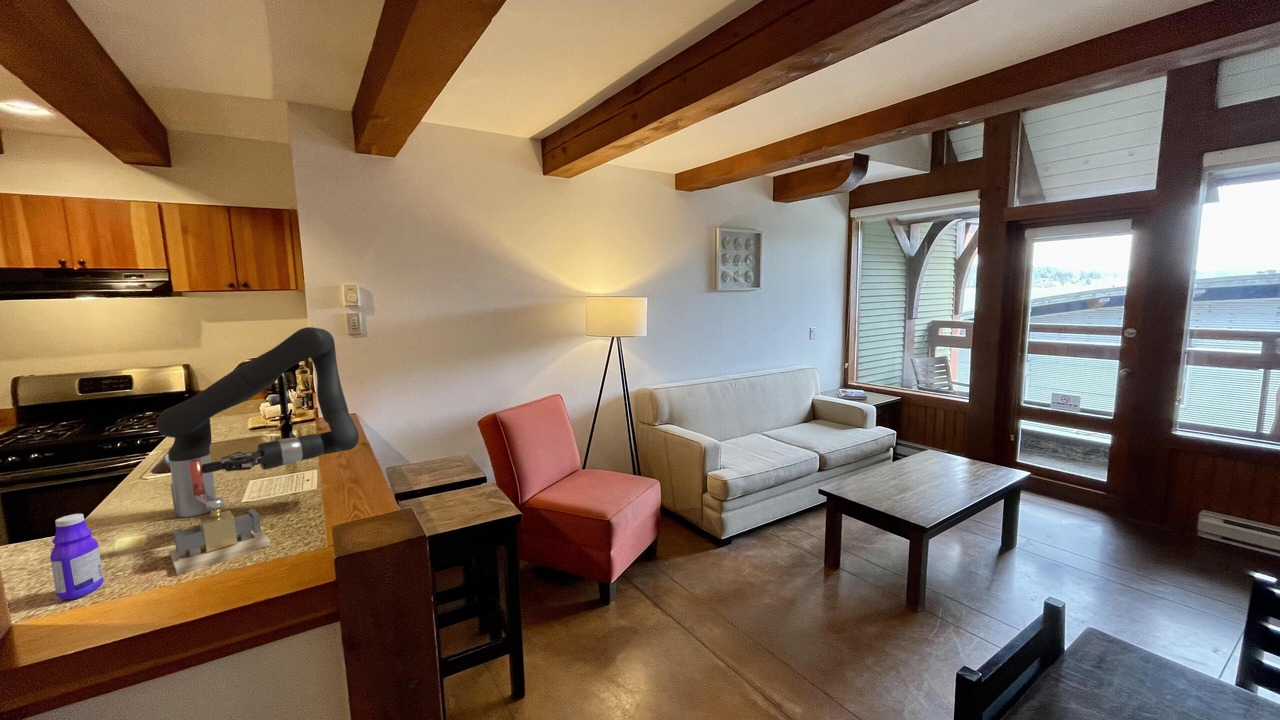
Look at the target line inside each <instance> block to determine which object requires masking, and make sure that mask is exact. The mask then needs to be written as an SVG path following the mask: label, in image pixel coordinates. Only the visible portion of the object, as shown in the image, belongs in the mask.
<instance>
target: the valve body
mask: <svg viewBox="0 0 1280 720" xmlns="http://www.w3.org/2000/svg"><path fill="white" fill-rule="evenodd" d="M210 512H211V513H210V514H211V515H207V516H202V517H199V518H198V520H199V526H198V527H194V528H191V529H187V530H183V531H182V530H181V528H176V529H173V530H172V531H173V538H174V544H175V548H176V551H177V553H178V555H179V556H181V555H184V554H185V550H188V553H189V555H190V557H193V556H196V555H199V554H201V550H200V546H202V545H203V546H204V548H205V550H206V552H209V551H213V550H216V549H219V548H223V547H226V546H229V545H233V544H236V543H237V536H236V535H238V537H239V538H240V540H241V541H246V540H249V539H251V531H254V533H259V532H261V530H262V529H261V524H260V516H259V515H260V514H259V513H258V511H256V509H255V508H251V509H248V513H245V514H241V515H238V516H234V515H233V513H232V512H231V510H226V511H221V507H220V508H217V509H212V510H211V511H210ZM260 529H261V530H260Z"/></svg>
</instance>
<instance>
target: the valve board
mask: <svg viewBox="0 0 1280 720" xmlns="http://www.w3.org/2000/svg"><path fill="white" fill-rule="evenodd" d="M260 530H261V532H259V533H254V531H251V539H249V540H246V541H241V540H240V538H239V537H238V535H236V536H237V543H236V544H233V545H229V546H226V547H223V548H219V549H216V550H213V551H209V552H206V550H205V548H204V546H203V545H202V546H200V550H201V554H199V555H196V556H193V557H190V555H189V553H188V550H185V554H184V555H181V556H179V555H178V553H177V551H176V547H175V548H173V549H169V550H168V552H169V558H170V560H171V562H172V565H173V568H174V571H175V574H176V576H179V575H184V574H186V573H190V572H193V571H197V570H199V569H203V568H205V567H208V566H212V565H215V564H218V563H221V562H224V561H227V560H230V559H234V558H237V557H241V556H244V555H247V554H250V553H253V552H256V551H258V550H257V549H259V550H261V549H260V548H262V549H264V548H263V547H266V548H268V547H267V546H269V547H271V546H272V543H271V539H270V538H269V537H268V536H267V534H266V533H265V532H264V531H263V529H261V528H260ZM255 550H256V551H255ZM252 551H253V552H252ZM249 552H250V553H249ZM246 553H247V554H246Z"/></svg>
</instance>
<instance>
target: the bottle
mask: <svg viewBox="0 0 1280 720" xmlns="http://www.w3.org/2000/svg"><path fill="white" fill-rule="evenodd" d="M84 516H85V515H84V513H73V514H69V515H64V516H61V517H59V518H57V519H55V522H54V523H55V535H54V537H53V539H52V543H53V545H54V546H53V547H52V551H51V552H50V556H49V559H50V560H49V561H50V565H51V570H52V578H53V582H54V588H55V595H56V597H57V598H58V599H59V600H61V599H69V600H74V599H73V598H76V599H79V598H81V597H80V596H82V597H84V596H86V595H88V594H90V593H92V592H93V591H96V590H98V589H99V588H100V587H101V586H102V585H103V583H104V576H103V575H104V573H103V567H102V561H101V555H100V550H99V549H100V548H99V543H98V541H97V540H96V538H94V537H93V536H92V534H93V530H92V529H90V528H89V527H88V526H87V524H86V519H85V517H84ZM78 597H79V598H78Z"/></svg>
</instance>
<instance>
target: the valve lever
mask: <svg viewBox="0 0 1280 720" xmlns="http://www.w3.org/2000/svg"><path fill="white" fill-rule="evenodd" d="M189 468H190V475H191V482H192V490H193V496H196V499H197V500H199V501H201V502H203V503H205V504H206V506H207V509H208V510H212V509H217V508H220V509H221V508H222V507H224V500H223V497H216V498H212V497H210V496H208V495H206V494H205V486H204V479H203V472H202V464H201V460H192V461H189Z"/></svg>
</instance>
